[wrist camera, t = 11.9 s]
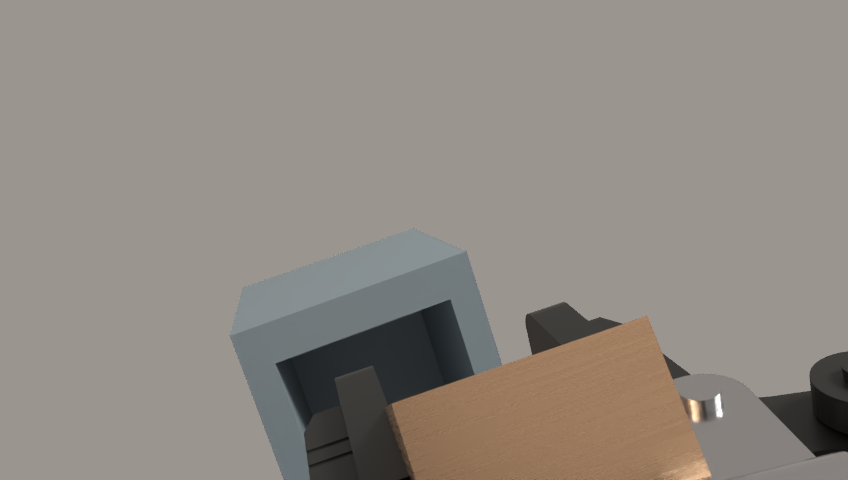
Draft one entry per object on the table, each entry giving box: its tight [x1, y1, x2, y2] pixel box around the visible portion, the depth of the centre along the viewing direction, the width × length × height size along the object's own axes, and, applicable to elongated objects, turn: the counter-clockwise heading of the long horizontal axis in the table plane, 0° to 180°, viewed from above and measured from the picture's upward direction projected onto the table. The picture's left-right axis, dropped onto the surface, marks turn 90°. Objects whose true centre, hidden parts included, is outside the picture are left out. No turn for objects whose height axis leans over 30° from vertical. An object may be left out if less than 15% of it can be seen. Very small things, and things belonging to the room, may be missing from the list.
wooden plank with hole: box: [385, 316, 711, 480], centre depth 19 cm, size 24×3×3 cm, turn 12°
